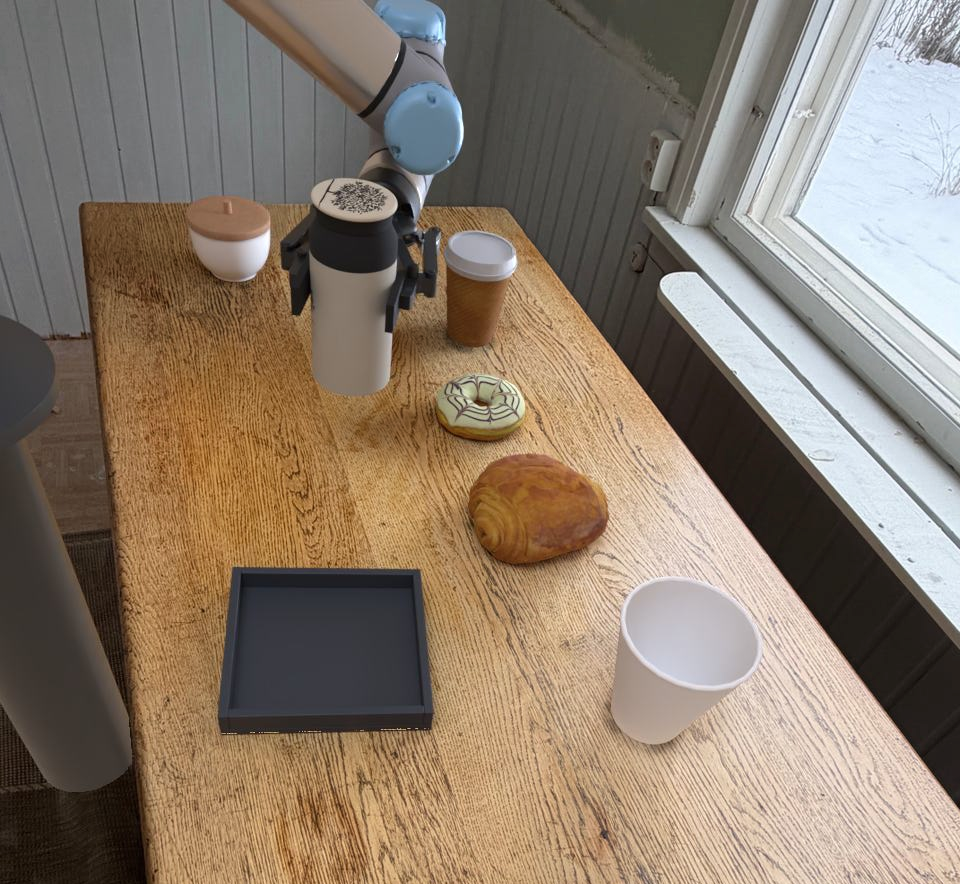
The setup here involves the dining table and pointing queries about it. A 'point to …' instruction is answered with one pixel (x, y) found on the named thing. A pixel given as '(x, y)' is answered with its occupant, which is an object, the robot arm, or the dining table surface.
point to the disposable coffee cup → (476, 284)
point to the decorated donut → (480, 407)
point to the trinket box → (230, 236)
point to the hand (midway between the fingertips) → (342, 310)
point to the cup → (679, 656)
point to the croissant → (535, 508)
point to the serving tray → (325, 651)
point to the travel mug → (351, 284)
